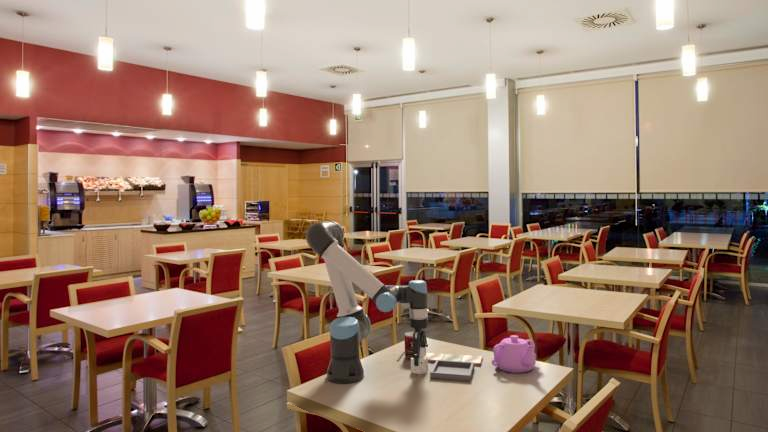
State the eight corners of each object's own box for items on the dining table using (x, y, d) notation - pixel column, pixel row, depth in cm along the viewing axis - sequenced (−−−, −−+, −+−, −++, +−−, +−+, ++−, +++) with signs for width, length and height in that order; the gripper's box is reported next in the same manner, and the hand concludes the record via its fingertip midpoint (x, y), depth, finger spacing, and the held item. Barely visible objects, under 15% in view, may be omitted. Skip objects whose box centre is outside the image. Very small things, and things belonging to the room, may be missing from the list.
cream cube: (410, 372, 214) (410, 358, 214) (413, 367, 220) (413, 353, 220) (425, 374, 213) (425, 359, 213) (428, 369, 219) (427, 354, 218)
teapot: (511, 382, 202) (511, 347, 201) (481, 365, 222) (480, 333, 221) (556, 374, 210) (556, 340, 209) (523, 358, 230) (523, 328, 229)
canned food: (403, 360, 230) (403, 335, 230) (406, 354, 238) (405, 331, 238) (420, 360, 229) (420, 336, 229) (422, 355, 237) (422, 331, 236)
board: (396, 361, 229) (396, 358, 229) (402, 352, 241) (402, 349, 241) (480, 367, 220) (480, 364, 220) (482, 357, 232) (482, 355, 232)
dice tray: (430, 378, 207) (430, 372, 207) (436, 365, 223) (436, 359, 223) (470, 381, 203) (470, 375, 203) (474, 368, 219) (473, 362, 219)
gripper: (422, 325, 203) (423, 378, 204) (432, 311, 227) (434, 358, 228) (403, 324, 205) (405, 377, 206) (416, 310, 229) (417, 357, 230)
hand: (420, 367), depth 217 cm, fingers open, 13 cm apart
